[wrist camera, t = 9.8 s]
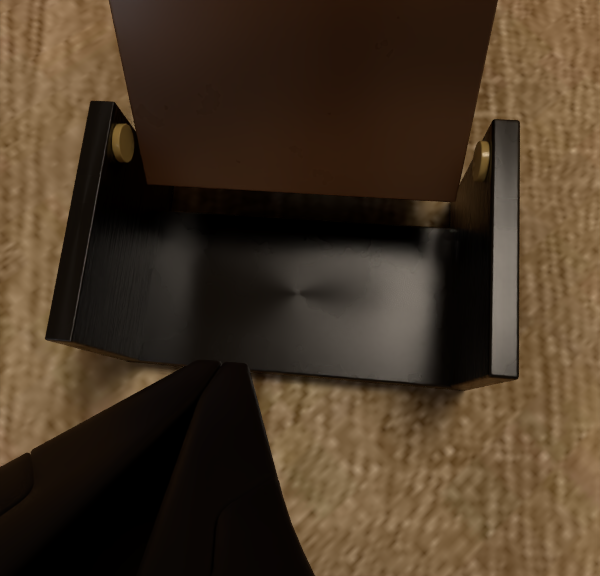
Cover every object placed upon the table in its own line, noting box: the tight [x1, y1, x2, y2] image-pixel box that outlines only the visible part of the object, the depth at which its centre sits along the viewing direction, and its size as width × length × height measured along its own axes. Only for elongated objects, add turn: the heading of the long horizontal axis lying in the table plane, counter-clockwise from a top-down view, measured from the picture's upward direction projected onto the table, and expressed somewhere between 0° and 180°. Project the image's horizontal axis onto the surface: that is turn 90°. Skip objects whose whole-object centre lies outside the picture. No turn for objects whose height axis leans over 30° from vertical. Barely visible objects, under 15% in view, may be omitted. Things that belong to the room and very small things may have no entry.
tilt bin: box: [109, 0, 498, 202], centre depth 18 cm, size 7×10×5 cm
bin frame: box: [45, 101, 520, 391], centre depth 19 cm, size 8×13×6 cm, turn 85°
